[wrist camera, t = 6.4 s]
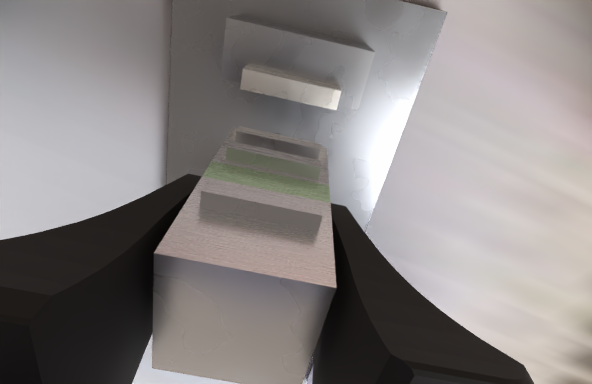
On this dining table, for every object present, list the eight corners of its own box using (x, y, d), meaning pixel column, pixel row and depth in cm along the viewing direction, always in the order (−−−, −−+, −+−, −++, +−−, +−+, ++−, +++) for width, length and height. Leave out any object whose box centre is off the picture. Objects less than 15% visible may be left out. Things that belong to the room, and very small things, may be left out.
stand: (354, 248, 23) (361, 295, 19) (169, 211, 22) (141, 252, 19) (441, 11, 16) (477, 15, 13) (180, -53, 16) (139, -67, 12)
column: (303, 232, 15) (294, 404, 9) (221, 216, 15) (152, 379, 9) (329, 136, 13) (342, 270, 7) (234, 115, 13) (154, 233, 6)
